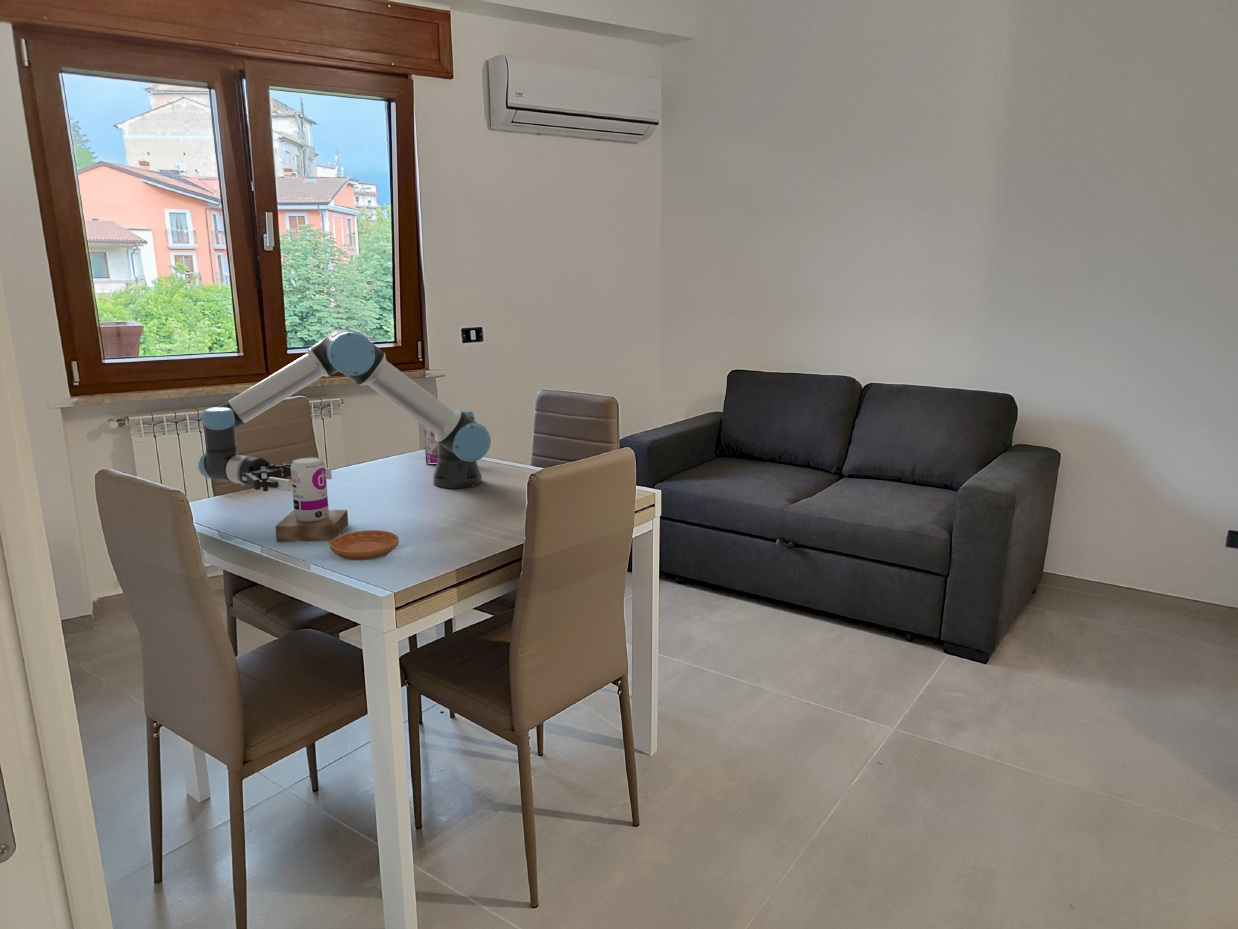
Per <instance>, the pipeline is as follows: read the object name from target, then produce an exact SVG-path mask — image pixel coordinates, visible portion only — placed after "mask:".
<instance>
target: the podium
mask: <svg viewBox="0 0 1238 929" xmlns="http://www.w3.org/2000/svg"><path fill="white" fill-rule="evenodd" d="M348 517H349V515H348V509H329V515H327V517H326V518H325V519H322V520H318V521H312V522H304V521H299V520H297V518H295V514H294V510H291V512H290V513H289V514H287V515H286V516H285V517H284V518H283V519H282V520H281V521H279V523H277V524H276V525H275V527H274V528H275V538H276V542H277V543H287V541H290V542H289V543H291V542H292V543H295V542H296V541H302V542H330V541H331V540H332V539H333V538H335V537H337V536H339V535H342V534H343V532H344V531H345V529H347V526H348V525H349V520H348V519H349V518H348ZM296 543H297V542H296Z"/></svg>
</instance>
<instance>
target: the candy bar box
mask: <svg viewBox="0 0 1238 929" xmlns="http://www.w3.org/2000/svg"><path fill="white" fill-rule="evenodd" d="M424 443H425V444H424V446H425V447H424V450H425V464H426V463H437V462H438V444H437V441H436V440H435V434H434V433H433V432H432V431H430V430H429V429H428V428H426V427H425V426H424Z"/></svg>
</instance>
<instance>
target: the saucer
mask: <svg viewBox="0 0 1238 929" xmlns="http://www.w3.org/2000/svg"><path fill="white" fill-rule="evenodd" d="M399 537H400V536H398V535H397V534H395V533H394V532H391V531H388V530H387V531H385V530H380V529H379V530H378V529H377V530H376V529H375V530H374V529H371V530H370V529H369V530H368V529H365V530H356V531H355V530H354V531H350V532H345V533H341V534H340V535H339V536H337V537H335V538H333V539H332V540H331V541H328V542H329V543H328V546H329V550H330V551H331V552H333V553H334V554H335V555H337V556H338V557H339V556H340V558H342V559H345V560H353V561H354V560H355V561H356V560H357V561H359V560H363V561H365V560H371V559H377V558H381V557H384V556H386V555H389V554H390V553H392V552H393V550H394V549H396V547H398V546H399V543H400V542H399V541H400V538H399Z"/></svg>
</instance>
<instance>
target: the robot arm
mask: <svg viewBox="0 0 1238 929" xmlns="http://www.w3.org/2000/svg"><path fill="white" fill-rule="evenodd" d="M335 373H341V374H343V375H344V376H345V377H347V378H348V379H349V380H351V381H353V383H355V384H357V385H358V386H369V387H370V388H371V389H373V390H374V391H376V392H377V393H378V394H380V395H381V396H383V397H384V399H386V400H388V401H389V402H390V403H391V404H393V405H394V406H396V407H397V408H399V409H400V410H402V411H403V412H404V413H406V414H407V415H409V417H411V418H412V419H414V420H415V421H416V422H418V423H419V424H421V425H422V426H423V427H424V428H425V427H426V428H428V429H429V430H430V431H432V432H433V433H434V434H435V440H436V441H437V444H438V462H437V465H435V470H434V472H433V473H434V474H433V477H432V478H433V480H432V482H433V485H434V486H436V487H439V488H445V489H464V488H470V487H469V486H472V487H474V486H473V485H476V486H478V485H480V484H481V483H482V482H481V481H482V480H483V478H482V473H481V470H480V468H479V465H478V464H479V463H478V462H477V461H479V460H481V459H482V458H484V457H485V456H486V455H487V454H488V452H489V450H490V448H491V443H492V442H491V441H492V440H491V435H490V432H489V431H488V429H487V428H486V427H485V426H484V425H482V424H481V423H478V422H477V421H476V420H475V419H476V418H475V414H474V411H471V410H470V411H469V410H461V409H454V410H453V409H451V408H450V407H449V406H447V405H445V403H443V402H442V401H441V400H439V399H438V398H436V396H434V395H433V394H431V393H430V392H428V391H427V390H426V389H425V388H423V387H422V386H420V385H419V383H416V382H415V381H414V380H413V379H411V378H410V377H408V376H407V375H406V374H405V373H404V372H402V371H401V370H399V369H398V368H397V367H395V366H394V365H393V364H392V363H390V362H389V361H388V360H387V357H386V352H384V351H383V350H382V349H380V348H379V347H378V346H377V345H375V344H374V343H373V342H372V341H371V340H370V339H369V338H368V337H367V336H365V335H364V334H363V333H361V332H358V331H354V330H352V329H348V328H339V329H336V330H333V331H332V332H330V333H329V334H327V335H326V336H325V337H324V338H322V339H320V340H319V341H318V342H317V343H316V342H315V344H313V345H312V346H310V347H308V349H307V353H306V354H304V355H302V356H301V357H299V358H297V359H296V360H294V361H293V362H290V363H289V364H287V365H286V366H284V367H282V368H280V369H279V370H278V371H275V372H274V373H272V374H270V375H269V376H268V377H266V378H264V379H263V380H261V381H259V382H257V383H255V384H254V385H252V386H250V387H249V388H247V389H246V390H244V391H242V392H240V393H239V394H237V395H235V396H234V397H233V398H231V399H229V400H228V401H226V402H224V403H222V404H221V405H219V406H215V407H210V408H206V409H204V410H203V411H202V427H203V434H204V444H205V453H203V454H202V455H201V456H200V458H199V462H198V470H199V473H200V474H201V475H202V476H203V477H204V478H206V479H210V480H213V481H217V482H224V483H225V482H227V483H233V484H240V485H241V487H242V486H243V487H244V486H245V485H247V486H250V487H251V488H253V489H254V490H256V491H259V490H260V489H261V488H262V491H263V492H268V491H269V489H273V490H279V491H286V492H292V481H291V479H287V478H288V477H291V465H292V463H284V462H282V463H280V464H270V462H269V461H268V460H266V459H265V458H263V457H256V456H252V455H251V456H250V455H243V454H238V447H237V446H238V445H237V444H238V443H237V433H236V431H237V429H239V428H240V427H243V425H245V424H246V423H247V422H250V421H252V420H253V419H254V418H256V417H257V416H259V415H260V414H263V413H264V412H266V411H267V410H269V409H271V408H273V407H274V406H276V405H278V404H279V403H281V402H283V401H284V400H286V399H287V398H289V397H291V396H293V395H294V394H295V393H297V392H299V391H300V390H302V389H304V388H305V387H307V386H309V385H310V384H312V383H314V382H316V381H317V380H319V379H320V378H322V377H330V376H333V375H334V374H335ZM325 469H326V480H331V479H333V476H332V468H330V467H325ZM282 474H283V475H282ZM480 482H481V483H480ZM479 483H480V484H479ZM477 484H478V485H477Z"/></svg>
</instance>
